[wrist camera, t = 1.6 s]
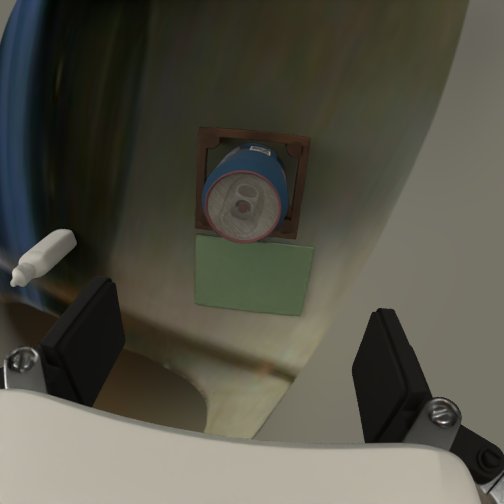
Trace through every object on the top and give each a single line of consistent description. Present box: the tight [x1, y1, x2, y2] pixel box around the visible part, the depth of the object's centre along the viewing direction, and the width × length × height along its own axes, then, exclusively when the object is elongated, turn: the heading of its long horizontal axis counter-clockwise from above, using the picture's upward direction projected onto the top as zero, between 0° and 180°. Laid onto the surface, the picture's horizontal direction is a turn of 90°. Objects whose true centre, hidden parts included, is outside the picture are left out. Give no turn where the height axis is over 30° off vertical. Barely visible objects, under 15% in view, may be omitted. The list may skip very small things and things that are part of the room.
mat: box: [195, 234, 314, 316], centre depth 40 cm, size 14×10×1 cm
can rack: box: [195, 127, 310, 239], centre depth 33 cm, size 10×10×5 cm
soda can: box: [202, 144, 288, 243], centre depth 29 cm, size 7×7×12 cm
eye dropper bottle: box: [10, 229, 77, 287], centre depth 35 cm, size 4×6×12 cm
